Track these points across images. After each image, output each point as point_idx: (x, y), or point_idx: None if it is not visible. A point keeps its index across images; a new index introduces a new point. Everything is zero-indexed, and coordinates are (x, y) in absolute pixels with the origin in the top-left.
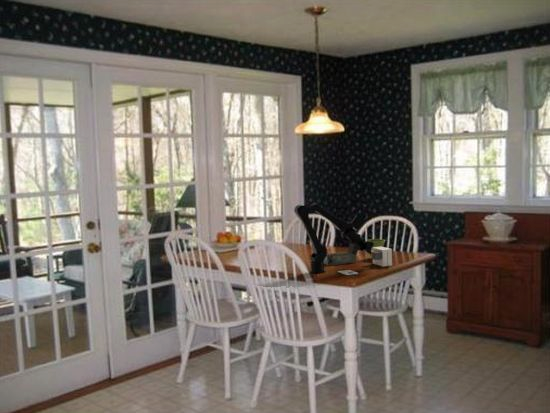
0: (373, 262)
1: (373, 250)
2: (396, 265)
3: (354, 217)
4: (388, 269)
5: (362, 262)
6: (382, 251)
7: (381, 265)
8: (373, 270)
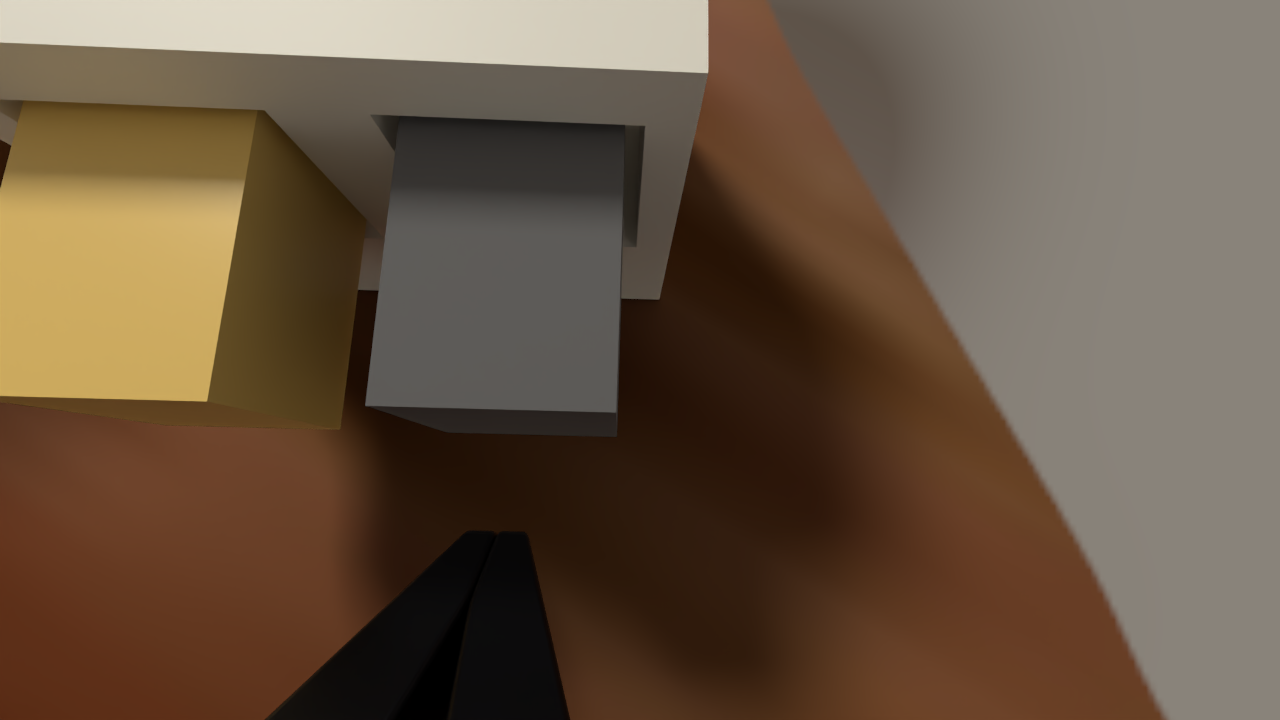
0: None
1: (69, 142)
2: None
3: None
4: (967, 379)
5: None
6: (680, 114)
7: None
8: (919, 709)
